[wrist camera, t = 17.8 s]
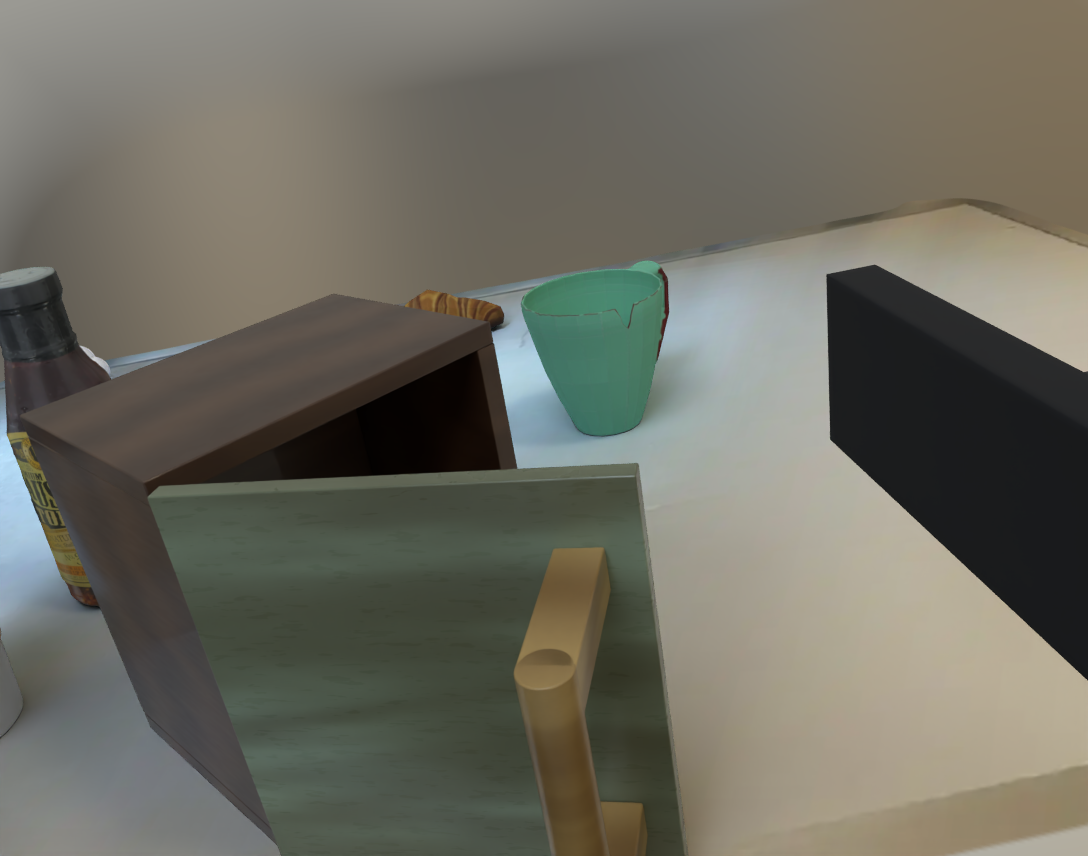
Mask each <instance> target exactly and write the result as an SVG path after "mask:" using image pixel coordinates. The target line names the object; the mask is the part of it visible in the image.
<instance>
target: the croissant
mask: <svg viewBox="0 0 1088 856" xmlns="http://www.w3.org/2000/svg"><path fill="white" fill-rule="evenodd" d="M404 307H410V308H415V309H421V310H426V311H432V312H437V313H443V314H448V315H454V316H460V317H465V318H471V319H476V320H482V321H487V322H489V323H490V327H491V328H493V327H495V326H497V325H499V324H502V323H503V320H504V313H503V311H502V309H501V307H500V306H498V305H495V304H492V303H489V302H486V301H482V300H476V299H470V298H457V297H454V296H452V295H449V294H446V293H441V292H436V291H431V290H426V291H425V292H423V293H422V294H420V295H418V296H417V297H415V298H414V299H412V300H411V301H409V302H408V303H407V304H406V305H405V306H404Z"/></svg>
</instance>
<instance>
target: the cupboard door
mask: <svg viewBox="0 0 1088 856" xmlns="http://www.w3.org/2000/svg"><path fill="white" fill-rule="evenodd" d="M148 501H149V504H150V507H151V509H152V512H153V515H154V517H155V520H156V523H157V525H158V528H159V531H160V533H161V536H162V539H163V541H164V544H165V547H166V549H167V552H168V555H169V557H170V560H171V563H172V565H173V568H174V571H175V573H176V576H177V579H178V581H179V584H180V587H181V589H182V592H183V595H184V597H185V600H186V603H187V605H188V608H189V611H190V613H191V616H192V619H193V621H194V624H195V627H196V629H197V632H198V635H199V637H200V640H201V643H202V645H203V648H204V651H205V653H206V656H207V659H208V661H209V664H210V667H211V669H212V672H213V675H214V677H215V680H216V683H217V685H218V688H219V691H220V693H221V696H222V699H223V701H224V704H225V707H226V709H227V712H228V715H229V717H230V720H231V723H232V725H233V728H234V731H235V733H236V736H237V739H238V741H239V744H240V747H241V749H242V752H243V755H244V757H245V760H246V763H247V765H248V768H249V771H250V773H251V776H252V779H253V781H254V784H255V787H256V789H257V792H258V795H259V797H260V800H261V803H262V805H263V808H264V811H265V813H266V816H267V819H268V821H269V824H270V827H271V829H272V832H273V835H274V837H275V840H276V843H277V845H278V848H279V851H280V853H281V856H688V849H687V841H686V833H685V825H684V818H683V810H682V802H681V794H680V786H679V778H678V770H677V763H676V755H675V747H674V739H673V731H672V723H671V715H670V708H669V700H668V692H667V684H666V676H665V668H664V660H663V652H662V645H661V637H660V629H659V621H658V613H657V605H656V597H655V590H654V582H653V574H652V566H651V558H650V550H649V542H648V535H647V527H646V519H645V511H644V503H643V495H642V487H641V480H640V472H639V465H638V464H637V463H632V464H611V465H590V466H569V467H548V468H527V469H506V470H485V471H464V472H443V473H422V474H401V475H379V476H358V477H337V478H316V479H295V480H274V481H253V482H232V483H211V484H190V485H169V486H159V487H158V488H157V489H156V490H155V491H153V492H152V493H151V494H150V495H149V496H148Z"/></svg>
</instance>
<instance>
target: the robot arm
mask: <svg viewBox="0 0 1088 856" xmlns="http://www.w3.org/2000/svg"><path fill="white" fill-rule="evenodd" d="M827 317H828V361H829V404H830V440H831V441H832V442H833V443H835V444H836V445H837V446H838V447H839V448H840V449H841V450H842V451H843V452H844V453H845V454H846V455H847V456H848V457H850V458H851V459H852V460H853V461H854V462H855V463H856V464H857V465H858V466H859V467H860V468H861V469H862V470H863V471H864V472H866V473H867V474H868V475H869V476H870V477H871V478H872V479H873V480H874V481H875V482H876V483H877V484H878V485H879V486H880V487H882V488H883V489H884V490H885V491H886V492H887V493H888V494H889V495H890V496H891V497H892V498H893V499H894V500H895V501H897V502H898V503H899V504H900V505H901V506H902V507H903V508H904V509H905V510H906V511H907V512H908V513H909V514H910V515H911V516H913V517H914V518H915V519H916V520H917V521H918V522H919V523H920V524H921V525H922V526H923V527H924V528H925V529H926V530H927V531H929V532H930V533H931V534H932V535H933V536H934V537H935V538H936V539H937V540H938V541H939V542H940V543H941V544H942V545H944V546H945V547H946V548H947V549H948V550H949V551H950V552H951V553H952V554H953V555H954V556H955V557H956V558H957V559H958V560H960V561H961V562H962V563H963V564H964V565H965V566H966V567H967V568H968V569H969V570H970V571H971V572H972V573H973V574H975V575H976V576H977V577H978V578H979V579H980V580H981V581H982V582H983V583H984V584H985V585H986V586H987V587H988V588H989V589H991V590H992V591H993V592H994V593H995V594H996V595H997V596H998V597H999V598H1000V599H1001V600H1002V601H1003V602H1004V603H1005V604H1007V605H1008V606H1009V607H1010V608H1011V609H1012V610H1013V611H1014V612H1015V613H1016V614H1017V615H1018V616H1019V617H1020V618H1022V619H1023V620H1024V621H1025V622H1026V623H1027V624H1028V625H1029V626H1030V627H1031V628H1032V629H1033V630H1034V631H1035V632H1036V633H1038V634H1039V635H1040V636H1041V637H1042V638H1043V639H1044V640H1045V641H1046V642H1047V643H1048V644H1049V645H1050V646H1051V647H1052V648H1054V649H1055V650H1056V651H1057V652H1058V653H1059V654H1060V655H1061V656H1062V657H1063V658H1064V659H1065V660H1066V661H1067V662H1069V663H1070V664H1071V665H1072V666H1073V667H1074V668H1075V669H1076V670H1077V671H1078V672H1079V673H1080V674H1081V675H1082V676H1083V677H1085V678H1086V679H1087V680H1088V371H1087V372H1082V371H1080V370H1078V369H1076V368H1074V367H1073V366H1071V365H1069V364H1067V363H1065V362H1063V361H1061V360H1059V359H1057V358H1055V357H1053V356H1051V355H1049V354H1047V353H1045V352H1043V351H1041V350H1040V349H1038V348H1036V347H1034V346H1032V345H1030V344H1028V343H1026V342H1024V341H1022V340H1020V339H1018V338H1016V337H1014V336H1012V335H1010V334H1009V333H1007V332H1005V331H1003V330H1001V329H999V328H997V327H995V326H993V325H991V324H989V323H987V322H985V321H983V320H981V319H979V318H977V317H976V316H974V315H972V314H970V313H968V312H966V311H964V310H962V309H960V308H958V307H956V306H954V305H952V304H950V303H948V302H946V301H945V300H943V299H941V298H939V297H937V296H935V295H933V294H931V293H929V292H927V291H925V290H923V289H921V288H919V287H917V286H915V285H913V284H912V283H910V282H908V281H906V280H904V279H902V278H900V277H898V276H896V275H894V274H892V273H890V272H888V271H886V270H884V269H882V268H881V267H879V266H877V265H871V266H866V267H861V268H856V269H851V270H846V271H841V272H836V273H831V274H827Z"/></svg>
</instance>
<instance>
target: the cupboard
mask: <svg viewBox="0 0 1088 856" xmlns="http://www.w3.org/2000/svg"><path fill="white" fill-rule="evenodd" d="M20 419H21V421H22V424H23V426H24V428H25V431H26V433H27V435H28V436H29V437H28V438H29V441H30V443H31V445H32V448H33V450H34V452H35V455H36V457H37V460H38V462H39V464H40V467H41V469H42V471H43V474H44V476H45V479H46V481H47V483H48V486H49V488H50V490H51V493H52V495H53V497H54V500H55V502H56V505H57V507H58V509H59V512H60V514H61V516H62V519H63V521H64V524H65V526H66V528H67V531H68V533H69V535H70V538H71V540H72V543H73V545H74V547H75V550H76V552H77V554H78V557H79V559H80V561H81V564H82V566H83V569H84V571H85V573H86V576H87V578H88V580H89V583H90V585H91V588H92V590H93V592H94V595H95V597H96V599H97V602H98V604H99V606H100V609H101V611H102V614H103V616H104V618H105V621H106V623H107V625H108V628H109V630H110V633H111V635H112V637H113V640H114V642H115V644H116V647H117V649H118V651H119V654H120V656H121V659H122V661H123V663H124V666H125V668H126V670H127V673H128V675H129V678H130V680H131V682H132V685H133V687H134V689H135V692H136V694H137V697H138V699H139V701H140V704H141V706H142V708H143V711H144V712H145V715H146V717H147V720H148V722H149V724H150V727H151V728H152V729H153V730H154V731H155V732H156V733H157V734H158V735H159V736H161V737H162V738H163V739H164V740H165V741H166V742H167V743H168V744H169V745H170V746H171V747H172V748H173V749H175V750H176V751H177V752H178V753H179V754H180V755H181V756H182V757H183V758H184V759H185V760H186V761H187V762H189V763H190V764H191V765H192V766H193V767H194V768H195V769H196V770H197V771H198V772H199V773H200V774H201V775H203V776H204V777H205V778H206V779H207V780H208V781H209V782H210V783H211V784H212V785H213V786H214V787H215V788H217V789H218V790H219V791H220V792H221V793H222V794H223V795H224V796H225V797H226V798H227V799H228V800H229V801H231V802H232V803H233V804H234V805H235V806H236V807H237V808H238V809H239V810H240V811H241V812H242V813H243V814H245V815H246V816H247V817H248V818H249V819H250V820H251V821H252V822H253V823H254V824H255V825H256V826H257V827H259V828H260V829H261V830H262V831H263V832H264V833H265V834H266V835H267V836H268V837H269V838H270V839H271V840H273V841H274V842H275V843H276V840H275V837H274V835H273V832H272V829H271V827H270V824H269V821H268V819H267V816H266V813H265V811H264V808H263V805H262V803H261V800H260V797H259V795H258V792H257V789H256V787H255V784H254V781H253V779H252V776H251V773H250V771H249V768H248V765H247V763H246V760H245V757H244V755H243V752H242V749H241V747H240V744H239V741H238V739H237V736H236V733H235V731H234V728H233V725H232V723H231V720H230V717H229V715H228V712H227V709H226V707H225V704H224V701H223V699H222V696H221V693H220V691H219V688H218V685H217V683H216V680H215V677H214V675H213V672H212V669H211V667H210V664H209V661H208V659H207V656H206V653H205V651H204V648H203V645H202V643H201V640H200V637H199V635H198V632H197V629H196V627H195V624H194V621H193V619H192V616H191V613H190V611H189V608H188V605H187V603H186V600H185V597H184V595H183V592H182V589H181V587H180V584H179V581H178V579H177V576H176V573H175V571H174V568H173V565H172V563H171V560H170V557H169V555H168V552H167V549H166V547H165V544H164V541H163V539H162V536H161V533H160V531H159V528H158V525H157V523H156V520H155V517H154V515H153V512H152V509H151V507H150V504H149V501H148V496H149V495H150V494H151V493H152V492H153V491H155V490H156V489H157V488H158V487H159V486H169V485H190V484H211V483H232V482H253V481H274V480H295V479H316V478H337V477H358V476H379V475H401V474H422V473H443V472H464V471H485V470H506V469H517V464H516V459H515V454H514V448H513V443H512V438H511V432H510V427H509V422H508V416H507V411H506V406H505V400H504V395H503V390H502V384H501V379H500V374H499V368H498V363H497V358H496V352H495V347H494V343H493V338H492V332H491V327H490V323H489V322H487V321H482V320H476V319H471V318H465V317H460V316H454V315H448V314H443V313H437V312H432V311H426V310H421V309H415V308H410V307H404V306H399V305H393V304H387V303H382V302H377V301H371V300H365V299H360V298H354V297H349V296H343V295H337V294H331V295H329V296H326V297H324V298H321V299H318V300H316V301H313V302H311V303H309V304H306V305H303V306H301V307H298V308H295V309H293V310H290V311H287V312H285V313H282V314H280V315H277V316H275V317H272V318H270V319H267V320H264V321H262V322H259V323H257V324H254V325H251V326H249V327H246V328H244V329H241V330H238V331H236V332H233V333H231V334H228V335H225V336H223V337H220V338H218V339H215V340H213V341H210V342H207V343H205V344H202V345H200V346H197V347H194V348H192V349H189V350H187V351H184V352H182V353H179V354H176V355H174V356H171V357H169V358H166V359H163V360H161V361H158V362H156V363H153V364H151V365H148V366H145V367H143V368H140V369H138V370H135V371H132V372H130V373H127V374H125V375H122V376H120V377H117V378H114V379H112V380H109V381H107V382H104V383H101V384H99V385H96V386H94V387H91V388H89V389H86V390H83V391H81V392H78V393H76V394H73V395H70V396H68V397H65V398H63V399H60V400H58V401H55V402H52V403H50V404H47V405H45V406H42V407H39V408H37V409H34V410H32V411H29V412H27V413H24V414H21V415H20ZM276 844H277V843H276Z"/></svg>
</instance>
